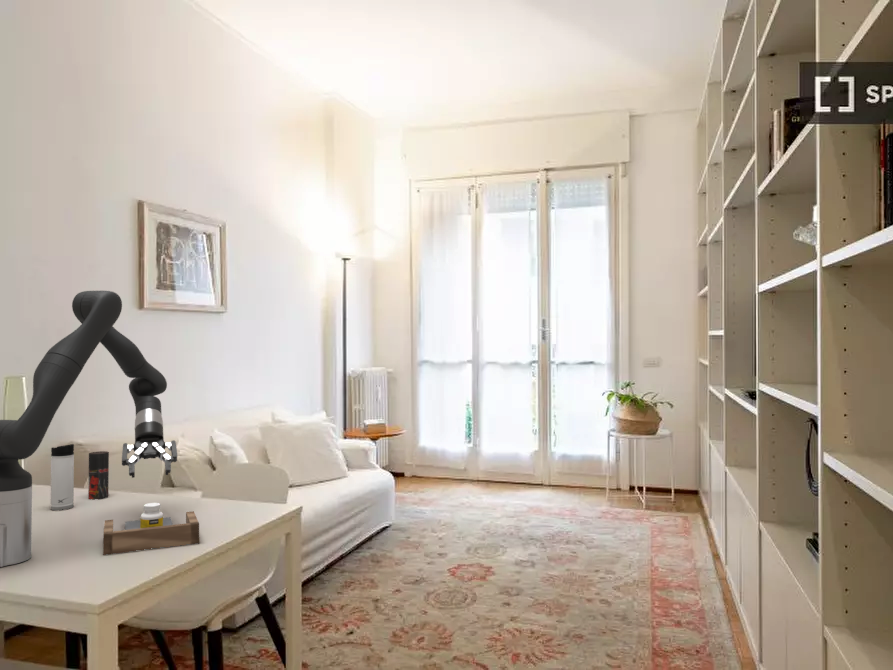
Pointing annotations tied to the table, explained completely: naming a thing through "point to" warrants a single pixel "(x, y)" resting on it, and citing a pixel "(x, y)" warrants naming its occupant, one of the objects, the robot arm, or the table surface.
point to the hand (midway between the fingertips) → (150, 474)
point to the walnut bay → (150, 536)
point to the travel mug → (62, 477)
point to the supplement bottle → (151, 516)
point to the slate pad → (136, 523)
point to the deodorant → (98, 475)
